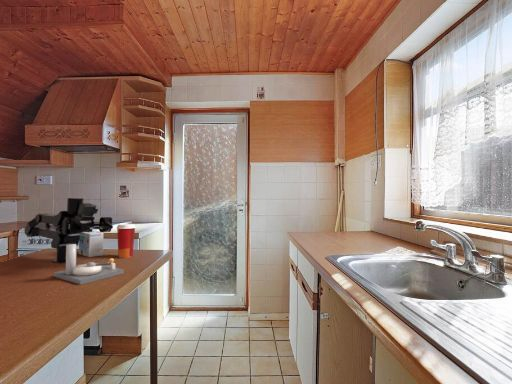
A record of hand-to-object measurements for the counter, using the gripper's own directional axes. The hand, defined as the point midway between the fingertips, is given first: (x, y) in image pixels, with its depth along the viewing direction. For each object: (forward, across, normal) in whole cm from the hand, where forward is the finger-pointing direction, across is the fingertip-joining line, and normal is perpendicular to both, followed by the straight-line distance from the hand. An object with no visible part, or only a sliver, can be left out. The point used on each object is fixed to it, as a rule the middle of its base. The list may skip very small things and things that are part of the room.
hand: (101, 227), depth 114 cm
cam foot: (+5, -6, +15) cm, 17 cm away
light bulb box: (-29, +15, +17) cm, 37 cm away
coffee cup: (-12, +21, +16) cm, 29 cm away
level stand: (+3, -5, +16) cm, 18 cm away
